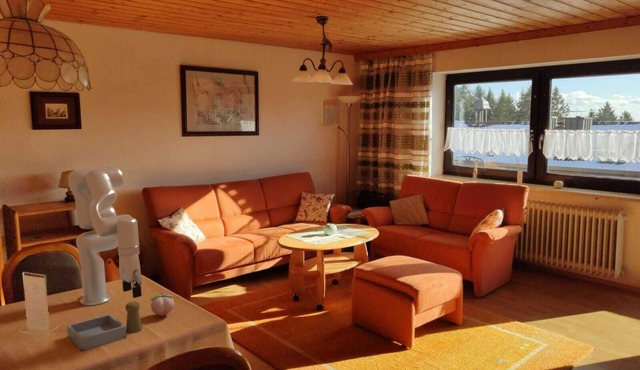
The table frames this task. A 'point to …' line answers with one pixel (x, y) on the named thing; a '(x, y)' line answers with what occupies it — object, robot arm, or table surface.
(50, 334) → the table surface
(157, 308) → the decorative fruit
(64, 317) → the table surface
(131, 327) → the cork
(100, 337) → the box
